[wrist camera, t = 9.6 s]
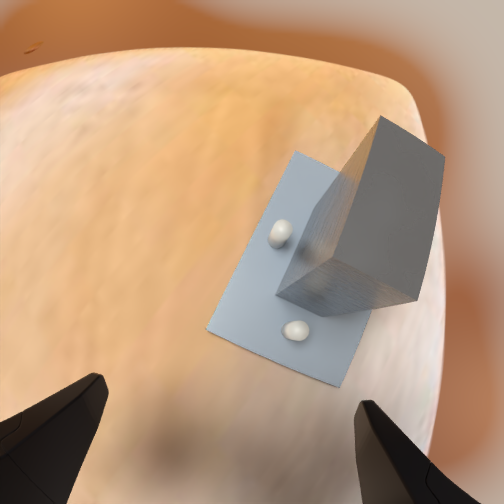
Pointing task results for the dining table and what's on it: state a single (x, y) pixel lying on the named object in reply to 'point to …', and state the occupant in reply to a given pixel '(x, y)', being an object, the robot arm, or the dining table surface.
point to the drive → (369, 228)
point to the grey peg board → (269, 278)
